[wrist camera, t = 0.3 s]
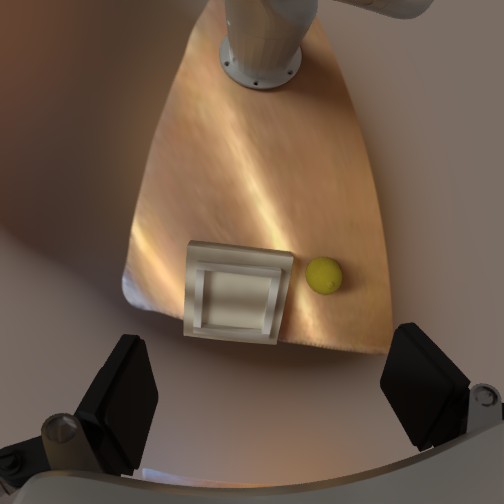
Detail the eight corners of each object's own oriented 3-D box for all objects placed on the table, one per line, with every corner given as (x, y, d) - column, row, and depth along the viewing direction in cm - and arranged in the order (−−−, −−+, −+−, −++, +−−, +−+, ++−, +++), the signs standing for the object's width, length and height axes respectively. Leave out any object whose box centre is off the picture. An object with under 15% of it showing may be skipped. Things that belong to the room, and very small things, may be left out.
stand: (190, 240, 44) (185, 248, 40) (290, 251, 45) (295, 260, 41) (186, 326, 49) (182, 340, 44) (274, 335, 50) (277, 349, 46)
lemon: (321, 243, 45) (336, 259, 37) (338, 268, 47) (355, 287, 39) (294, 264, 46) (305, 284, 38) (312, 287, 47) (325, 310, 40)
